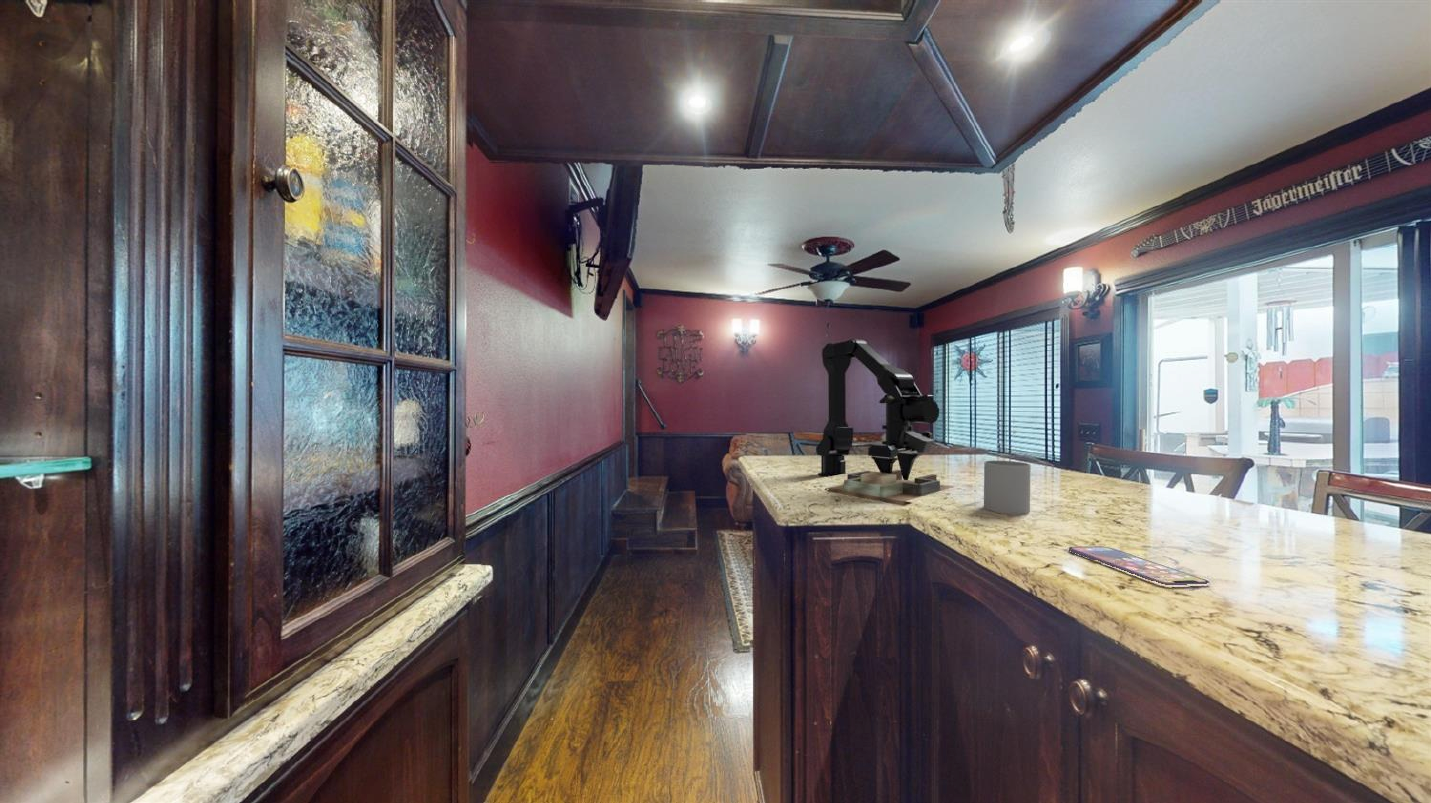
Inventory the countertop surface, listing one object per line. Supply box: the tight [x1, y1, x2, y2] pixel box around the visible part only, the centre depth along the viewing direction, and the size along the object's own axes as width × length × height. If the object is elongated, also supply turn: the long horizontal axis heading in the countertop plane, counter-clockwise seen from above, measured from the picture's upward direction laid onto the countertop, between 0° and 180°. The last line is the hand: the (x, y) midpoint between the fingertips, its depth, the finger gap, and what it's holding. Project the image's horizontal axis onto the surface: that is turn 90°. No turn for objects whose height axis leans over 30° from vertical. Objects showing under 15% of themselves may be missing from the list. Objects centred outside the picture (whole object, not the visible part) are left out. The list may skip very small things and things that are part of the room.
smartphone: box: [1068, 545, 1210, 585], centre depth 69 cm, size 1×7×15 cm
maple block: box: [861, 471, 896, 485], centre depth 117 cm, size 6×6×4 cm
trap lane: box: [827, 469, 954, 507], centre depth 122 cm, size 20×26×4 cm
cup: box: [983, 460, 1032, 516], centre depth 102 cm, size 8×8×10 cm
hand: (897, 481), depth 123 cm, fingers open, 9 cm apart
